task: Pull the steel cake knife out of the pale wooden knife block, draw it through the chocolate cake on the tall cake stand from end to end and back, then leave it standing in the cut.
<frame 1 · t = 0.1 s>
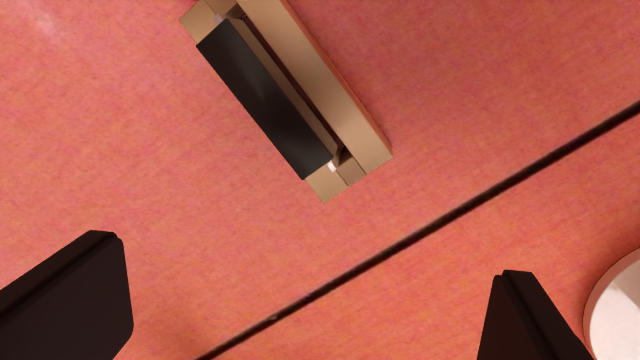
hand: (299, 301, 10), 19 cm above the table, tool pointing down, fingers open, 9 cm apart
knife block: (297, 84, 27), on the table
knife: (284, 92, 23), in the knife block
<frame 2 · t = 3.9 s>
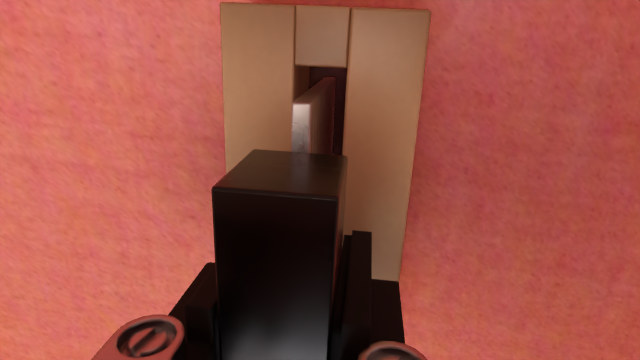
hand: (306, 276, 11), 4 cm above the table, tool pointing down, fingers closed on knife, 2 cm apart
knife block: (323, 213, 15), on the table
knife: (307, 273, 11), in the knife block, touching gripper
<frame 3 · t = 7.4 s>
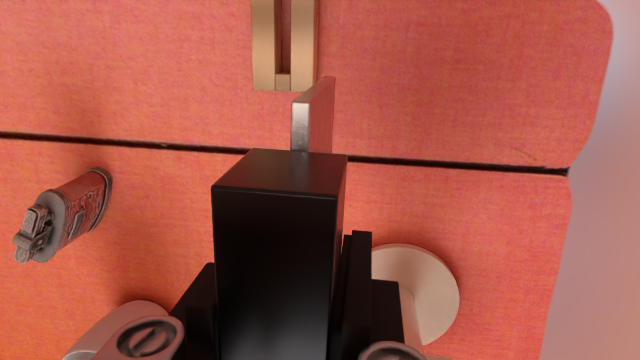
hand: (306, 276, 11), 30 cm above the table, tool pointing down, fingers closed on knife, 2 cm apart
knife block: (288, 8, 37), on the table
mug: (163, 321, 50), on the table
knife: (306, 272, 11), point 30 cm above the table, touching gripper
cake stand: (396, 295, 45), on the table
lighter: (94, 198, 46), on the table
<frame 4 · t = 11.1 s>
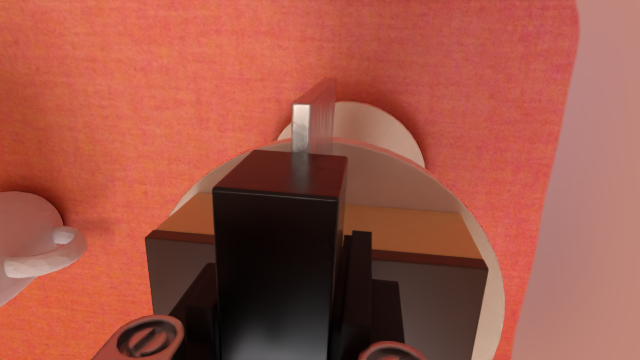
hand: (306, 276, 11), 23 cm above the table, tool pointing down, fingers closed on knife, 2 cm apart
mug: (53, 222, 39), on the table
cake: (319, 313, 17), resting on cake stand
knife: (307, 273, 11), point 23 cm above the table, touching gripper
cake stand: (345, 178, 34), on the table
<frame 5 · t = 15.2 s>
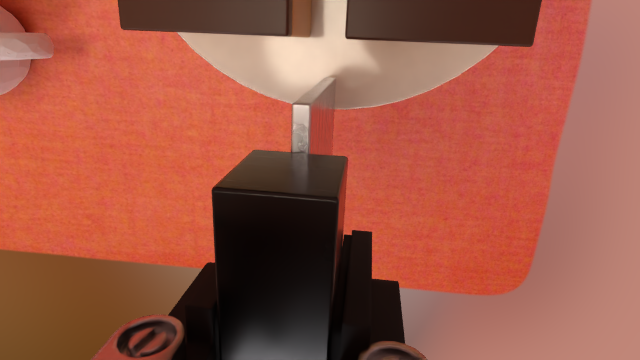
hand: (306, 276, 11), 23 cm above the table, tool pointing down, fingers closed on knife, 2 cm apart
mug: (19, 45, 34), on the table
knife: (307, 273, 11), point 23 cm above the table, touching gripper
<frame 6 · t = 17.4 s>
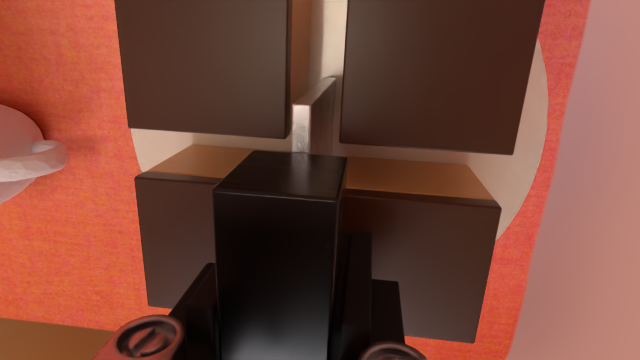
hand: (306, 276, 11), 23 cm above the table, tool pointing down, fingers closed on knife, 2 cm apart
mug: (34, 142, 37), on the table
cake: (326, 134, 15), resting on cake stand
knife: (307, 273, 11), point 22 cm above the table, touching gripper
cake stand: (350, 84, 32), on the table
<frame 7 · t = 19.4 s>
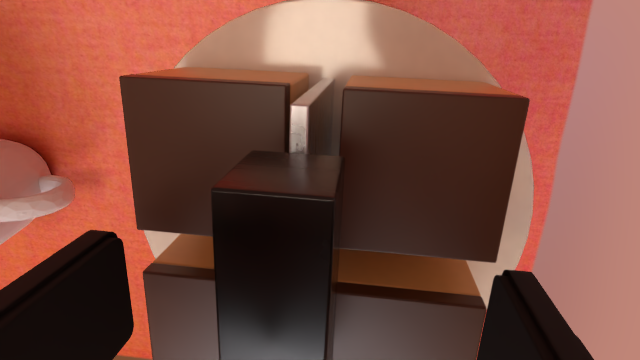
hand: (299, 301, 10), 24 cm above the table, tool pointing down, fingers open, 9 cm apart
mug: (41, 175, 38), on the table
cake: (323, 212, 15), resting on cake stand
knife: (305, 273, 12), on the cake stand, point 22 cm above the table
cake stand: (348, 122, 32), on the table
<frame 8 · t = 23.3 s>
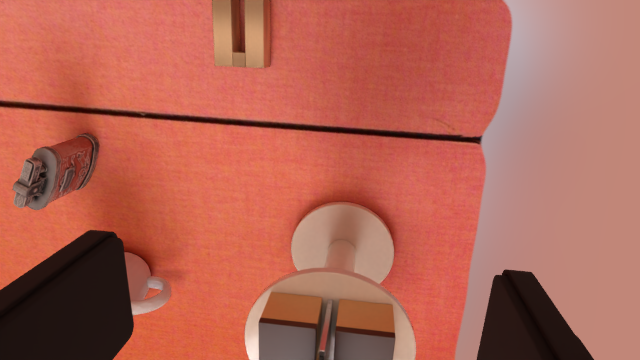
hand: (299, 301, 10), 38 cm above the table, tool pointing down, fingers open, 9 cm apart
mug: (142, 271, 58), on the table
cake: (328, 347, 36), resting on cake stand
cake stand: (342, 248, 53), on the table
lighter: (84, 160, 53), on the table
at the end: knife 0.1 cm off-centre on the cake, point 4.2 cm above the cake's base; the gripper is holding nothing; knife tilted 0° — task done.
